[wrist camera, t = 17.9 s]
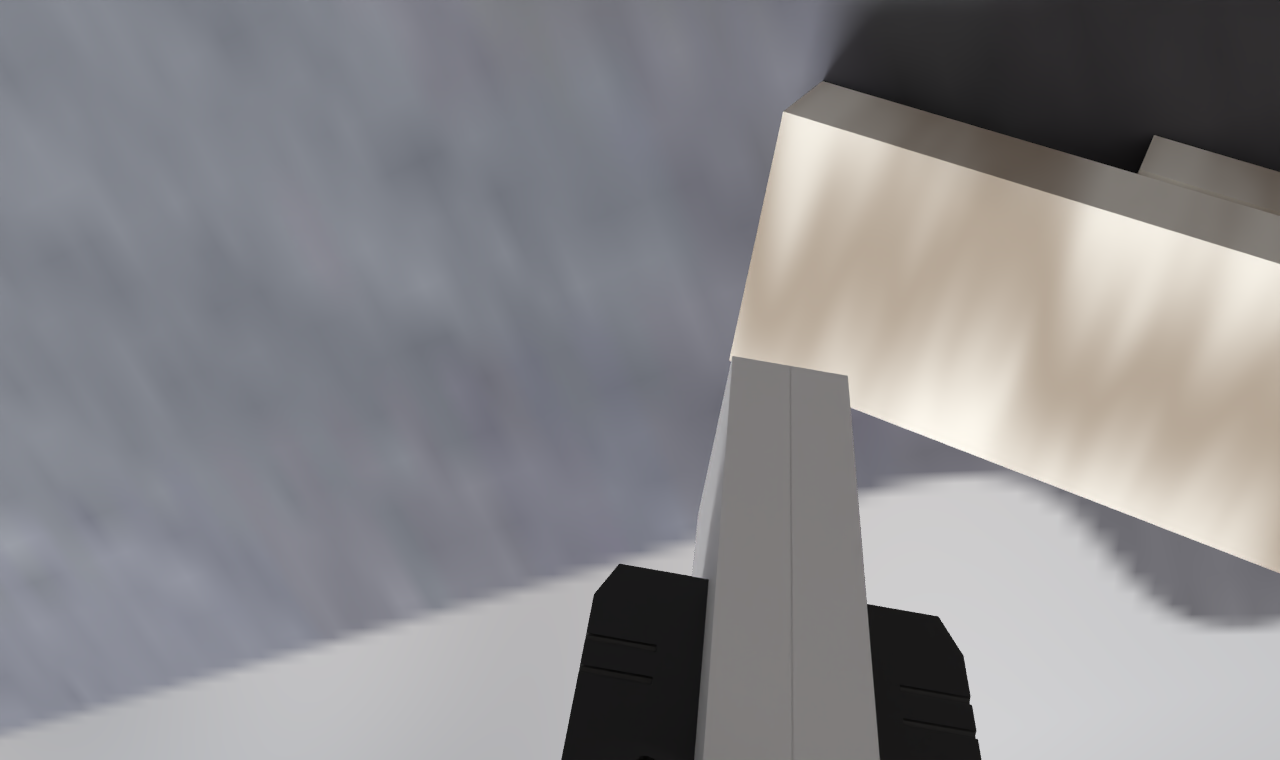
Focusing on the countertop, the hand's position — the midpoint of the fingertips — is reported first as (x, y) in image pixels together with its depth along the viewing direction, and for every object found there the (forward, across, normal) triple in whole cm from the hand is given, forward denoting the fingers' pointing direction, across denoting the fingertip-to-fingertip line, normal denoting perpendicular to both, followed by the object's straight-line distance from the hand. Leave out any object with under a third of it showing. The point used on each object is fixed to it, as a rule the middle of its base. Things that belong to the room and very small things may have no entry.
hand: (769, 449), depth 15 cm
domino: (+7, 0, 0) cm, 7 cm away
